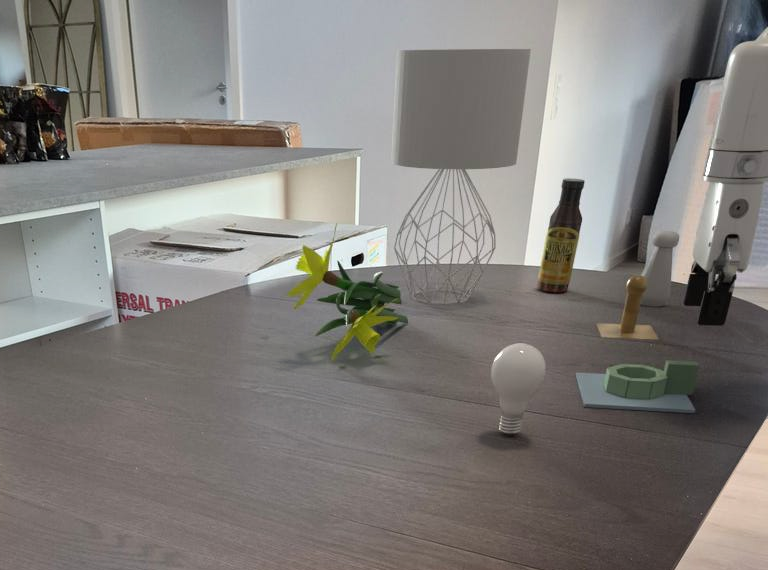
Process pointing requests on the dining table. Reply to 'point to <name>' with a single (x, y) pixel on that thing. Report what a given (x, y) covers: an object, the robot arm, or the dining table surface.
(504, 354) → the lightbulb
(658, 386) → the ring
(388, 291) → the daffodil flowers
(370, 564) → the dining table surface
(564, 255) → the sauce bottle
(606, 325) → the peg stand
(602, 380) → the mat
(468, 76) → the table lamp
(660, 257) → the salt shaker
